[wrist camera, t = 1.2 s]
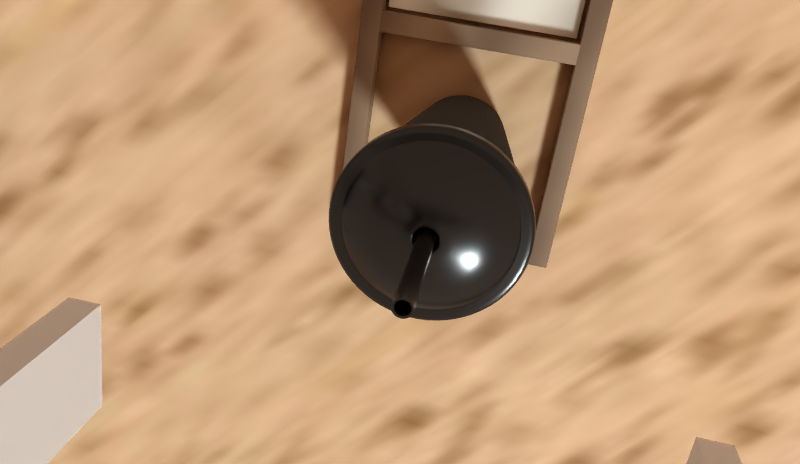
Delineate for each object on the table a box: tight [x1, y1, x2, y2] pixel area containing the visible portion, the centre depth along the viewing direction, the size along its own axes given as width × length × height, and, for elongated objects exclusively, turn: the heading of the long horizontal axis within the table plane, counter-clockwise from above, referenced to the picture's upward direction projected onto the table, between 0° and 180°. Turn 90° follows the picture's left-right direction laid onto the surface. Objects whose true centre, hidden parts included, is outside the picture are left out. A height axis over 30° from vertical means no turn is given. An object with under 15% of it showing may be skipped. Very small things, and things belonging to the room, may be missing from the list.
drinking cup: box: [329, 96, 536, 320], centre depth 29 cm, size 8×8×20 cm
